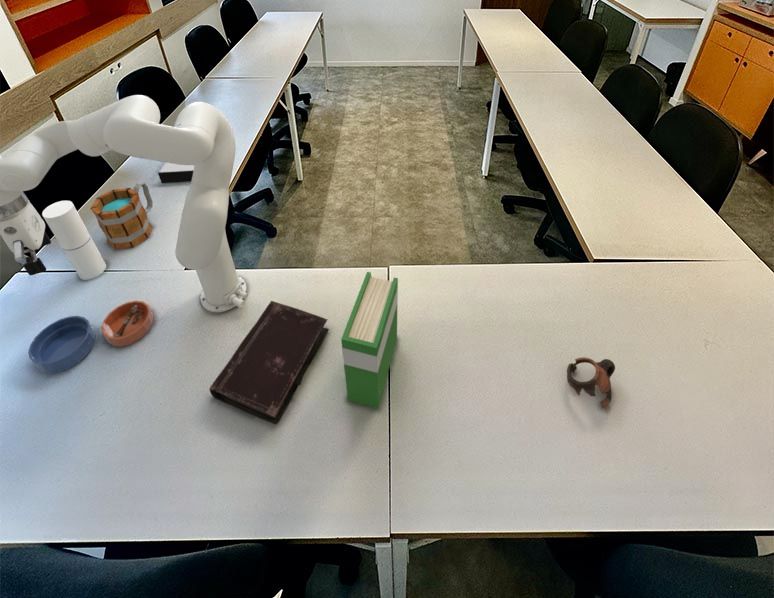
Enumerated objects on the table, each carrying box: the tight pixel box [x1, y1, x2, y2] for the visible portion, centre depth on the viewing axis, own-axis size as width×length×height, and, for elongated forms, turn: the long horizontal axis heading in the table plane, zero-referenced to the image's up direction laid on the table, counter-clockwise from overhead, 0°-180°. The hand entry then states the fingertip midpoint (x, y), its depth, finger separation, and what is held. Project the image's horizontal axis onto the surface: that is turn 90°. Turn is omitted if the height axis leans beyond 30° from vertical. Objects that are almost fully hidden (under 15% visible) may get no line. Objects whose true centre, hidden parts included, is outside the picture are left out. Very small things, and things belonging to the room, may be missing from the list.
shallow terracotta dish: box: [100, 300, 155, 347], centre depth 114 cm, size 11×11×3 cm
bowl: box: [27, 315, 97, 374], centre depth 108 cm, size 13×13×4 cm
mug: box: [89, 181, 153, 250], centre depth 141 cm, size 20×14×15 cm
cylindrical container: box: [41, 200, 107, 281], centre depth 124 cm, size 7×7×25 cm
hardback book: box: [340, 271, 399, 409], centre depth 98 cm, size 18×7×24 cm, turn 165°
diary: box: [209, 300, 330, 425], centre depth 104 cm, size 19×25×5 cm
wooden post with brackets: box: [114, 305, 143, 337], centre depth 114 cm, size 2×8×4 cm, turn 159°
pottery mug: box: [566, 357, 616, 409], centre depth 100 cm, size 12×10×8 cm
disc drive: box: [157, 162, 194, 184], centre depth 175 cm, size 18×22×5 cm
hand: (41, 258), depth 102 cm, fingers open, 9 cm apart
